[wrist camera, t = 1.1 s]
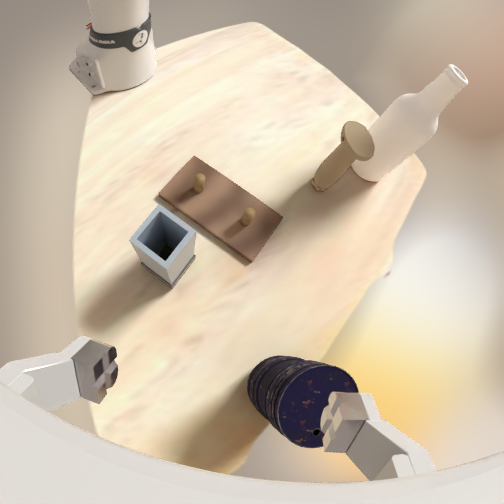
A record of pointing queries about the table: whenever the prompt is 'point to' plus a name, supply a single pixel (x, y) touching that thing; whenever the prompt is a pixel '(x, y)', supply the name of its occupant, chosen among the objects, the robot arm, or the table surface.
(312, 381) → the black cylinder
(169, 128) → the table surface
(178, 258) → the sleeve
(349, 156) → the handle
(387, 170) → the alcohol
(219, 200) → the pin board
